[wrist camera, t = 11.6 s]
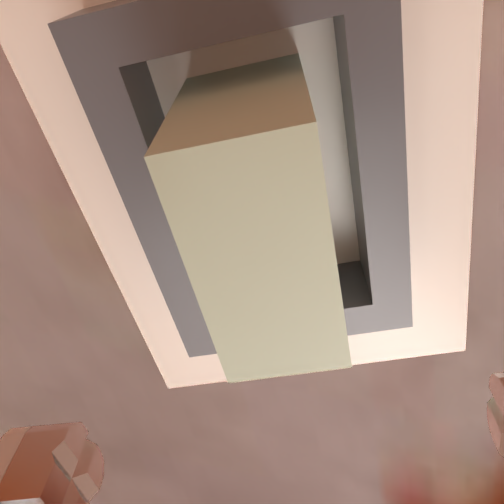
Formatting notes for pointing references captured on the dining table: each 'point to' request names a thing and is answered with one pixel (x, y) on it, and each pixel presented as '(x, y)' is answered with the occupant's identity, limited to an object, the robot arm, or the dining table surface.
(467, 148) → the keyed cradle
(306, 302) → the key block
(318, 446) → the dining table surface
